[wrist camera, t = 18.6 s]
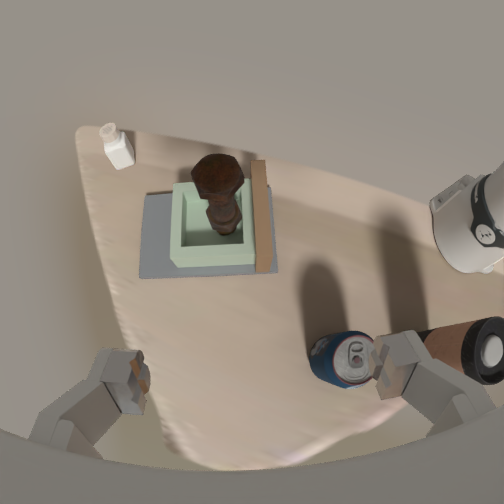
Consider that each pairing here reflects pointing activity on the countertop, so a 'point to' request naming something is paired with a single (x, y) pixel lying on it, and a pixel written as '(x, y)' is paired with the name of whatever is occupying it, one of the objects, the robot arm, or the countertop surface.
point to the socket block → (209, 230)
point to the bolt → (219, 190)
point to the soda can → (343, 359)
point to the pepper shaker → (117, 146)
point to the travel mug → (470, 348)
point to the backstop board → (161, 266)
